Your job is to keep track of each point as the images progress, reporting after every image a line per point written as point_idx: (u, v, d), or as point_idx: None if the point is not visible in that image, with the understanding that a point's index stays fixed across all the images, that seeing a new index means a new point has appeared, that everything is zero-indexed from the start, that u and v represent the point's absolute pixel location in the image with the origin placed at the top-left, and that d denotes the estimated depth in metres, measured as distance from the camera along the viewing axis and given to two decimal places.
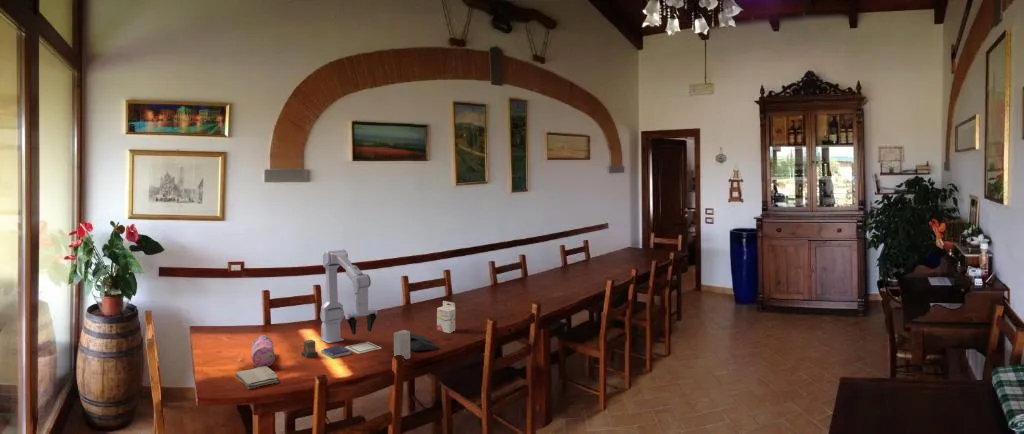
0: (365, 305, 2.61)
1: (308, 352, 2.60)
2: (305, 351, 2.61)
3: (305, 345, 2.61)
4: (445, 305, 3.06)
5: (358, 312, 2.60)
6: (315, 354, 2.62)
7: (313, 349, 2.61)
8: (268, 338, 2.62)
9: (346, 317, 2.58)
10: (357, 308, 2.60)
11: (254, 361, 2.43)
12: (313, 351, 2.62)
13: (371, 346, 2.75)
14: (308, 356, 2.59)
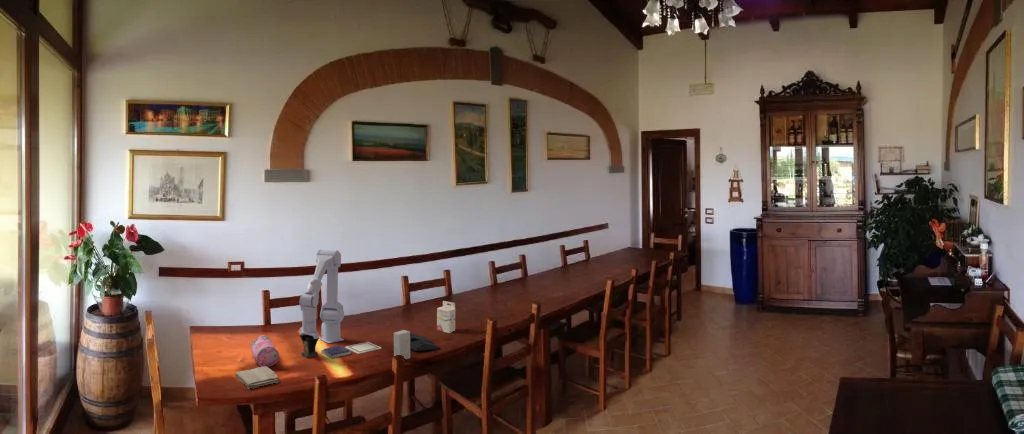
0: (303, 324, 2.59)
1: (308, 352, 2.60)
2: (305, 351, 2.61)
3: (305, 345, 2.61)
4: (445, 306, 3.06)
5: None
6: (315, 354, 2.62)
7: None
8: (267, 338, 2.62)
9: None
10: None
11: (259, 361, 2.44)
12: None
13: (371, 346, 2.75)
14: (308, 356, 2.59)
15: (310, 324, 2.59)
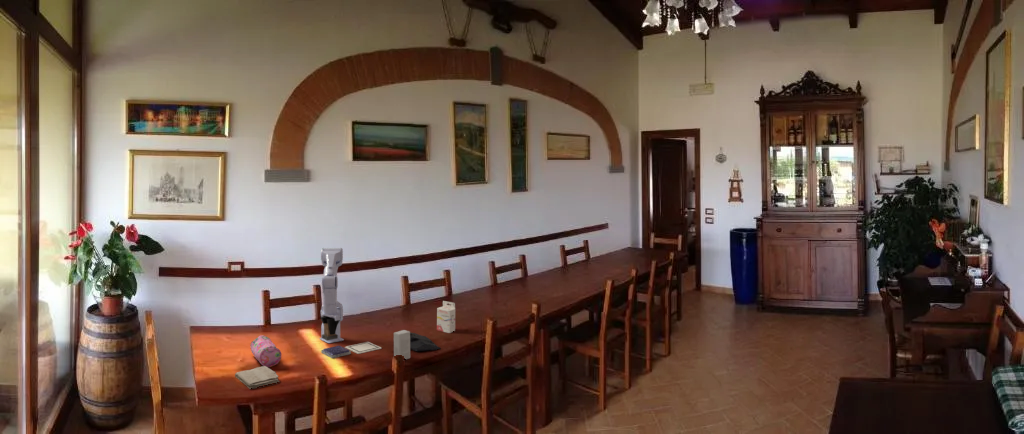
0: (324, 306, 2.61)
1: (328, 334, 2.62)
2: (325, 333, 2.63)
3: (325, 327, 2.62)
4: (445, 305, 3.06)
5: None
6: (335, 336, 2.63)
7: None
8: (267, 338, 2.62)
9: None
10: None
11: (261, 360, 2.44)
12: None
13: (371, 346, 2.75)
14: (328, 338, 2.61)
15: (331, 306, 2.60)
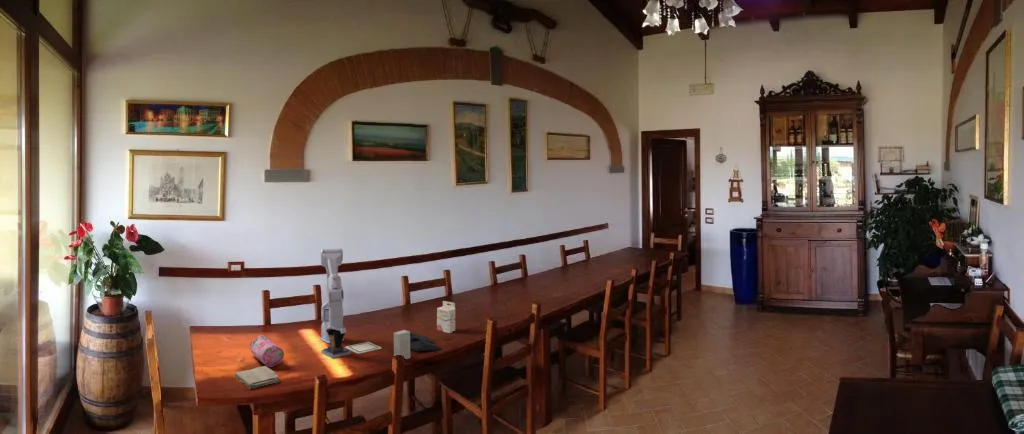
0: (330, 319, 2.62)
1: (334, 346, 2.63)
2: (331, 345, 2.64)
3: (331, 339, 2.64)
4: (445, 305, 3.06)
5: None
6: (341, 348, 2.64)
7: None
8: (267, 338, 2.62)
9: None
10: None
11: (264, 360, 2.45)
12: None
13: (371, 346, 2.75)
14: (334, 350, 2.62)
15: (337, 319, 2.62)
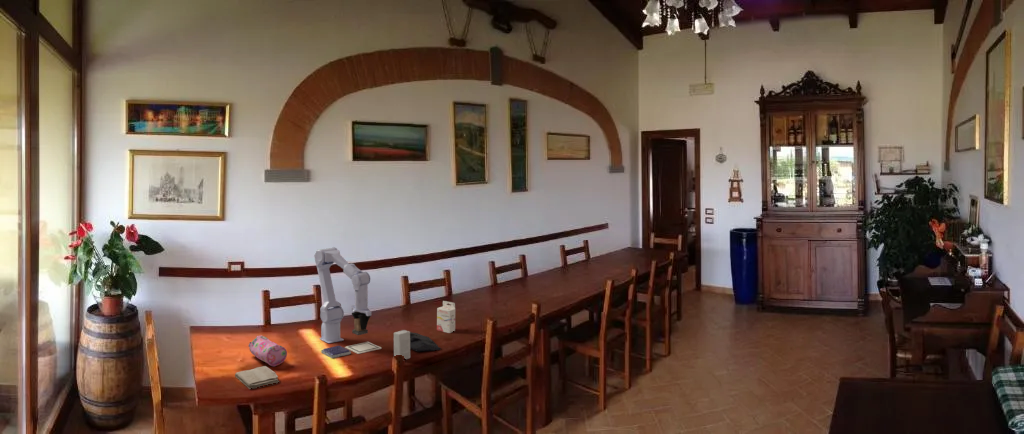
0: (356, 302, 2.69)
1: (359, 329, 2.70)
2: (356, 328, 2.71)
3: (356, 323, 2.70)
4: (445, 305, 3.06)
5: None
6: (365, 331, 2.71)
7: None
8: (266, 338, 2.62)
9: None
10: None
11: (268, 360, 2.45)
12: None
13: (371, 346, 2.75)
14: (359, 333, 2.69)
15: (362, 302, 2.69)
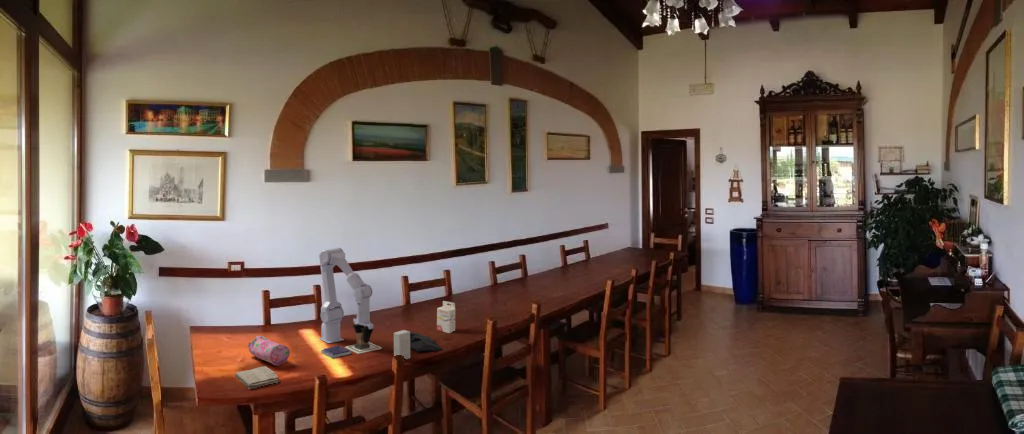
0: (358, 315, 2.70)
1: (361, 344, 2.71)
2: (358, 343, 2.72)
3: (358, 337, 2.72)
4: (445, 305, 3.06)
5: None
6: (367, 346, 2.73)
7: None
8: None
9: None
10: None
11: (272, 359, 2.46)
12: (365, 343, 2.73)
13: (371, 346, 2.75)
14: (361, 348, 2.70)
15: (364, 315, 2.70)
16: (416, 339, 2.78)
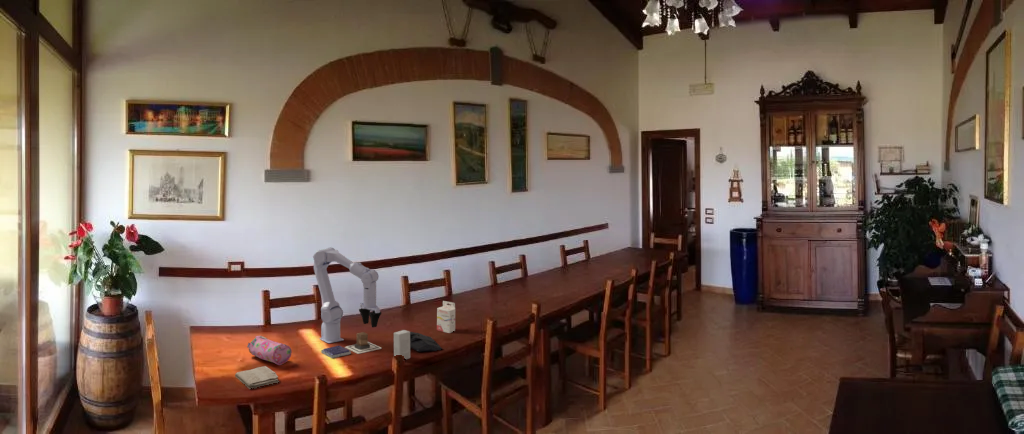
0: (364, 299, 2.74)
1: (361, 344, 2.71)
2: (358, 343, 2.72)
3: (358, 337, 2.72)
4: (445, 305, 3.06)
5: None
6: (367, 346, 2.73)
7: (366, 341, 2.73)
8: None
9: None
10: None
11: (275, 358, 2.47)
12: (365, 343, 2.73)
13: (371, 346, 2.75)
14: (361, 348, 2.70)
15: (371, 299, 2.74)
16: (417, 339, 2.78)
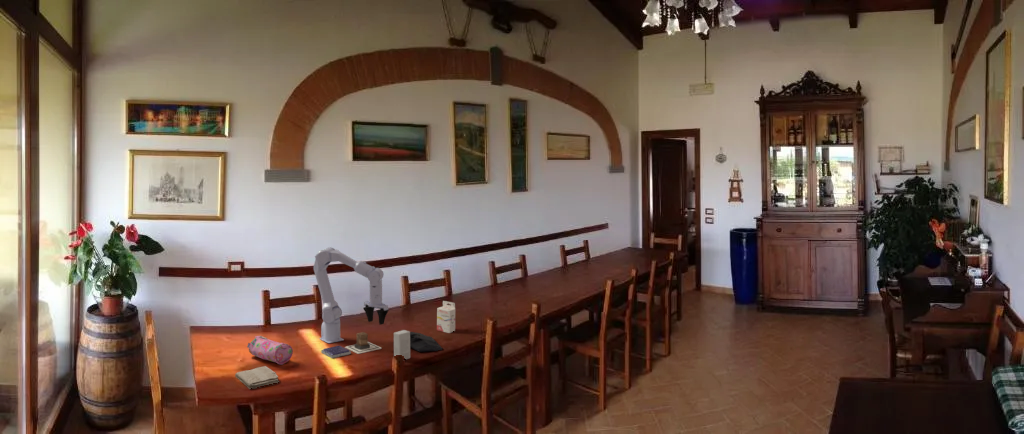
0: (371, 297, 2.78)
1: (361, 344, 2.71)
2: (358, 343, 2.72)
3: (358, 337, 2.72)
4: (445, 305, 3.06)
5: None
6: (367, 346, 2.73)
7: (366, 341, 2.73)
8: None
9: None
10: None
11: (276, 358, 2.47)
12: (365, 343, 2.73)
13: (371, 346, 2.75)
14: (361, 348, 2.70)
15: (378, 297, 2.79)
16: (417, 339, 2.78)
